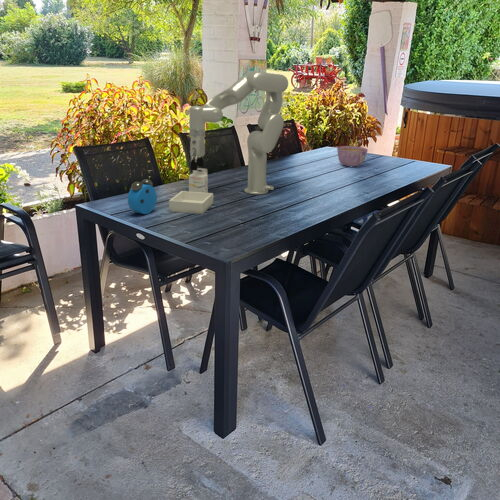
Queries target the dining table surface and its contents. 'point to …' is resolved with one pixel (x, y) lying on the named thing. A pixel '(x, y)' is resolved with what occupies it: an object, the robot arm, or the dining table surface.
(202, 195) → the cream square tray
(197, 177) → the ink cartridge box
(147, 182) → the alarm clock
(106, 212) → the dining table surface
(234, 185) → the dining table surface
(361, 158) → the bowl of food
